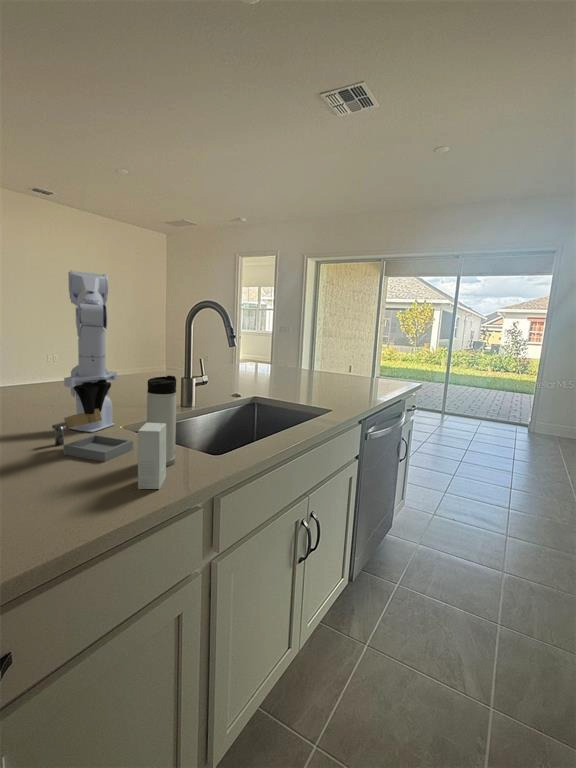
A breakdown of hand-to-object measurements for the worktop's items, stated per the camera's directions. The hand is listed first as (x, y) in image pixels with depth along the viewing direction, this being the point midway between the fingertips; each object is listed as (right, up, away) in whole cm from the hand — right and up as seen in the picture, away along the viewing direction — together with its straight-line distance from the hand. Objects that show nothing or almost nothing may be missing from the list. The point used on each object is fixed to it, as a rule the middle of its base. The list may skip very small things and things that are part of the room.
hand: (92, 412), depth 94 cm
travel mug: (+18, -12, -3) cm, 21 cm away
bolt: (-10, -8, +4) cm, 14 cm away
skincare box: (+19, -14, -15) cm, 28 cm away
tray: (+1, -10, +1) cm, 10 cm away
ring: (-2, -3, +1) cm, 4 cm away
